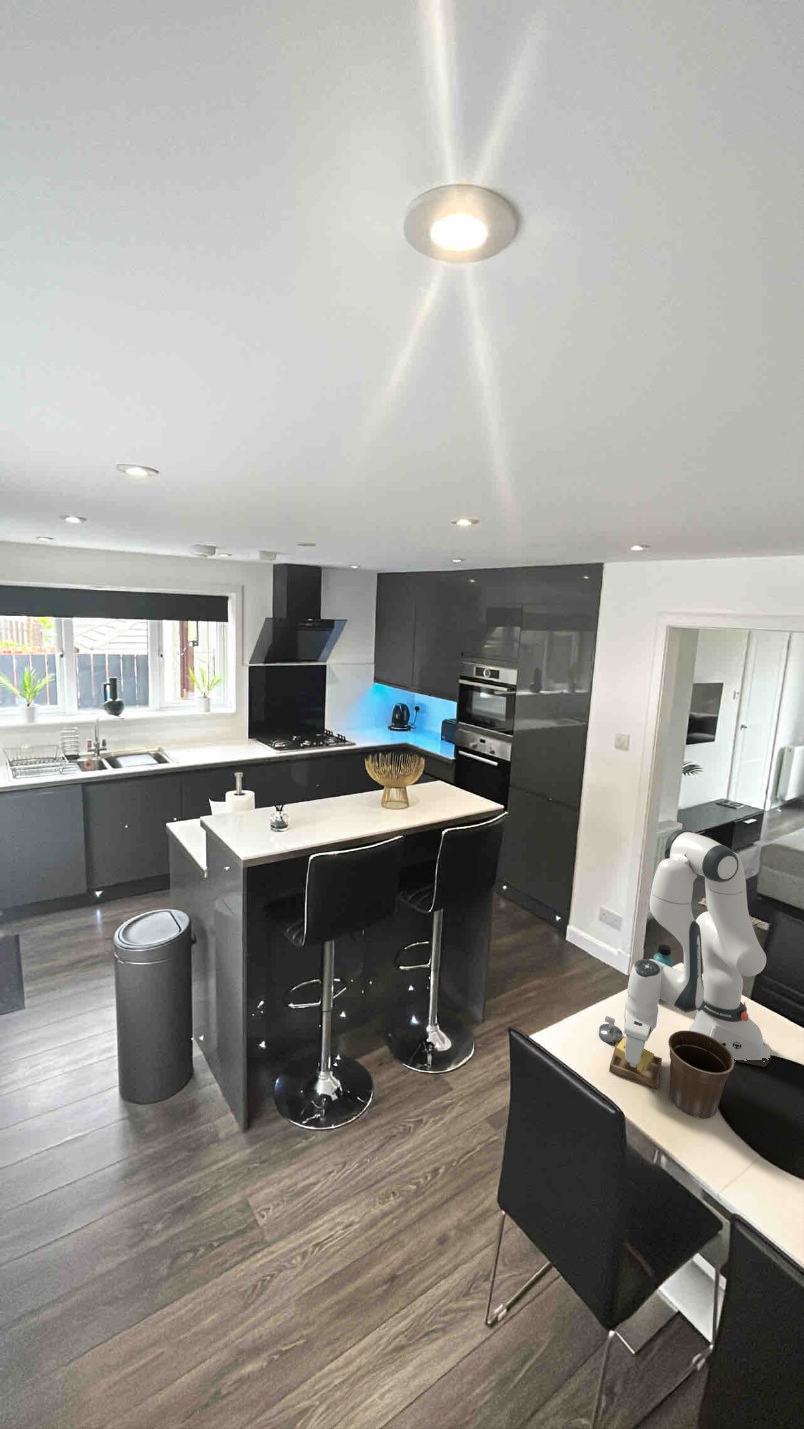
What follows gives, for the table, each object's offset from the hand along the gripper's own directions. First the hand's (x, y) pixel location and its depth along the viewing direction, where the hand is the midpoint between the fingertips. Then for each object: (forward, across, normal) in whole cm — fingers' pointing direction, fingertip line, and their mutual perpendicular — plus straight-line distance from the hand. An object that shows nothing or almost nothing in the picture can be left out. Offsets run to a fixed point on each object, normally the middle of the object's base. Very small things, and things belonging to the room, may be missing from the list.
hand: (635, 1057), depth 183 cm
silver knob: (+3, -10, -9) cm, 14 cm away
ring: (0, 0, 0) cm, 1 cm away
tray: (+3, 0, 0) cm, 3 cm away
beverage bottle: (+4, -39, +2) cm, 39 cm away
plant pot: (+4, +5, +16) cm, 17 cm away
